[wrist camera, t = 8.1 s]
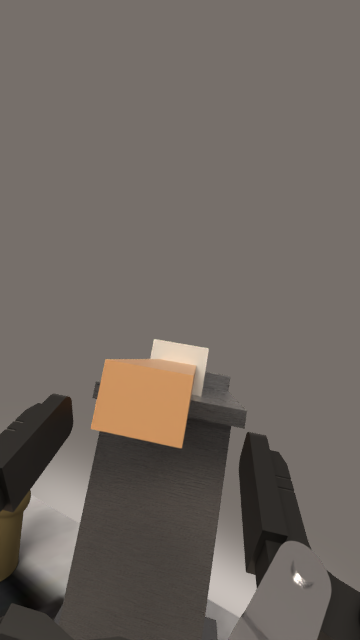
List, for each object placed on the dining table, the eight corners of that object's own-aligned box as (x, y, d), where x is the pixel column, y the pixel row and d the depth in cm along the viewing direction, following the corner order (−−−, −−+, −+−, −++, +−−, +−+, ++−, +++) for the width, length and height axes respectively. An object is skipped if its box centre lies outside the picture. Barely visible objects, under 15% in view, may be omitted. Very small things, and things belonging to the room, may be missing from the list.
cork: (7, 544, 41) (25, 474, 42) (25, 566, 37) (43, 489, 39) (-38, 566, 36) (-17, 486, 37) (-22, 594, 32) (1, 505, 34)
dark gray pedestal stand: (-35, 798, 19) (71, 354, 23) (72, 596, 34) (122, 356, 39) (228, 902, 17) (284, 394, 21) (213, 637, 32) (247, 379, 37)
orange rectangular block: (68, 424, 11) (94, 312, 11) (158, 378, 35) (165, 344, 35) (205, 453, 10) (223, 333, 11) (200, 386, 34) (206, 351, 35)
